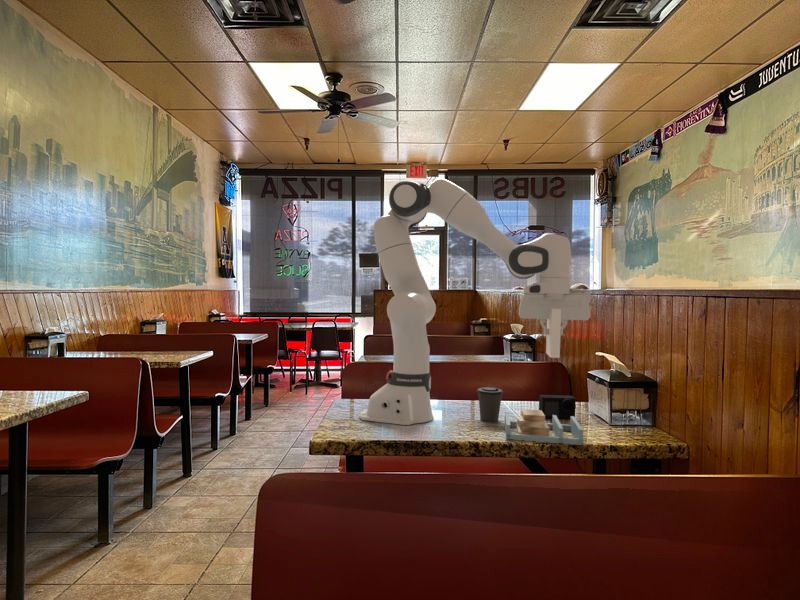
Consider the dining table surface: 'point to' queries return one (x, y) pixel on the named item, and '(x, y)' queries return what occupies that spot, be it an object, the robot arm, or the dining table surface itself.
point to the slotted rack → (555, 426)
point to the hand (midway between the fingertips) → (553, 334)
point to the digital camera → (557, 406)
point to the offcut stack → (532, 423)
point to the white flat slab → (553, 333)
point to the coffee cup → (489, 403)
